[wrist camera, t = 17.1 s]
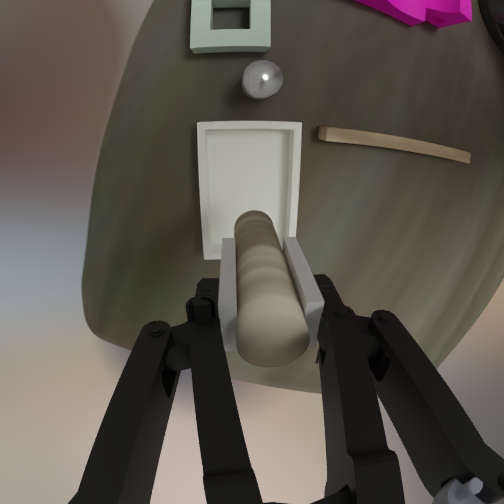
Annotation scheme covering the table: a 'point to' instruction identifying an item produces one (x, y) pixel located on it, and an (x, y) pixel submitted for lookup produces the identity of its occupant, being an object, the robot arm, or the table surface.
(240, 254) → the dowel
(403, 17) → the toy block
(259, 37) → the socket
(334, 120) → the table surface
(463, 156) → the brown wooden bar
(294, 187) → the tray
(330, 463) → the robot arm
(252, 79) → the cylinder
